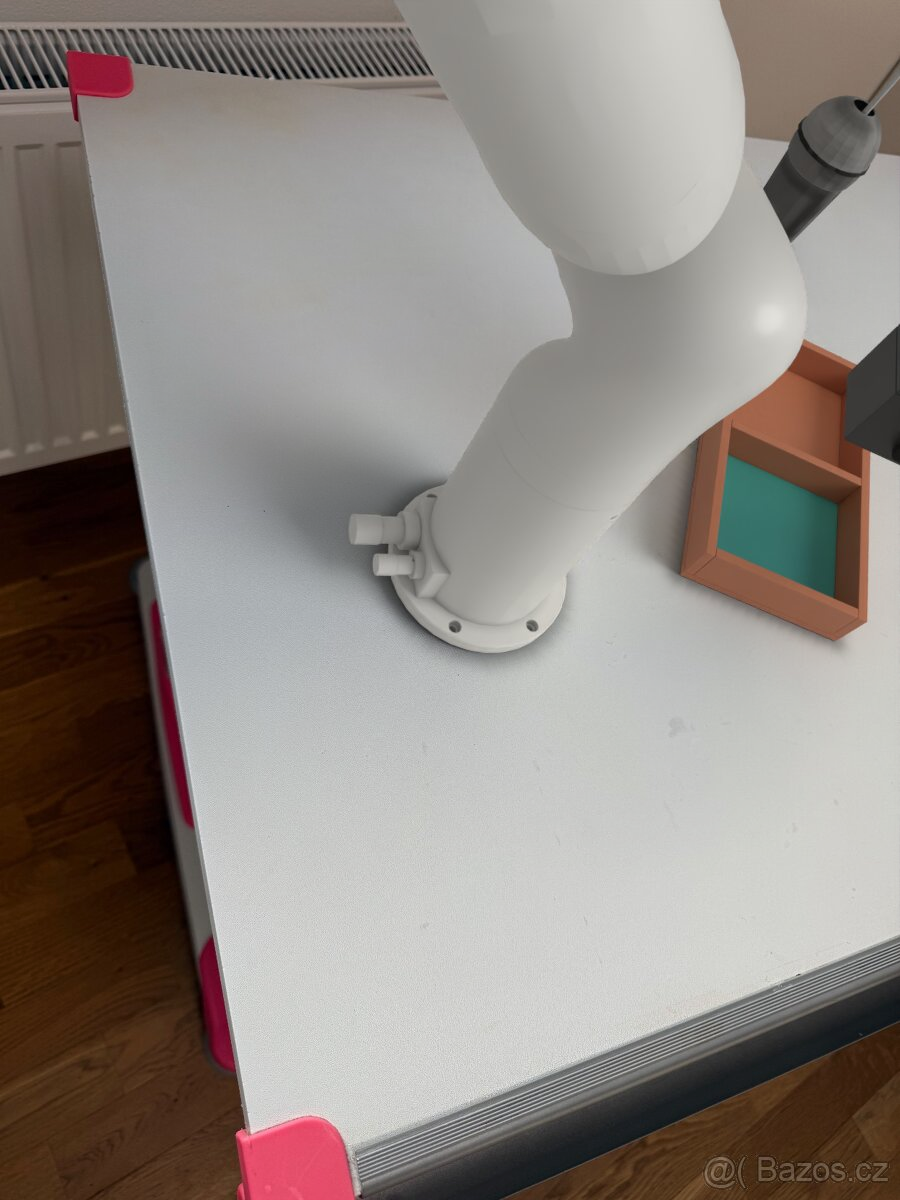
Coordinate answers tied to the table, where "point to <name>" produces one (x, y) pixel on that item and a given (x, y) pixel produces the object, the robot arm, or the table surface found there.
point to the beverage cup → (825, 158)
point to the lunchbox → (875, 399)
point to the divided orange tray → (786, 502)
